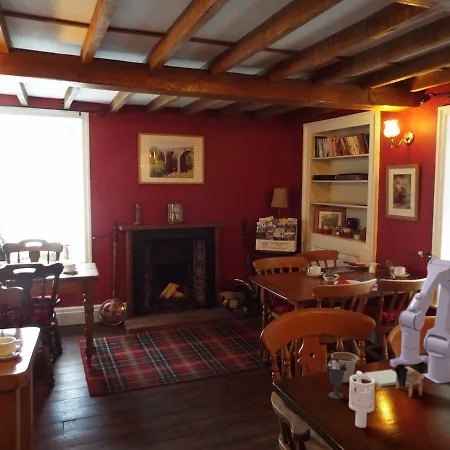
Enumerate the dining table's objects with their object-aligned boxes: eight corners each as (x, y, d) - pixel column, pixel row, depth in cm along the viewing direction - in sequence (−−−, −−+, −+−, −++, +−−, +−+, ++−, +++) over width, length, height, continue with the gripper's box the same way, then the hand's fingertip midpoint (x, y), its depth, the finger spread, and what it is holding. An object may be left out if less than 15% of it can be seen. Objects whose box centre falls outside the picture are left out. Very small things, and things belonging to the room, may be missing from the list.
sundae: (323, 391, 156) (324, 349, 155) (342, 391, 157) (343, 348, 155) (329, 400, 149) (330, 356, 148) (349, 400, 150) (350, 355, 149)
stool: (407, 385, 161) (408, 366, 161) (423, 395, 154) (424, 375, 153) (394, 387, 160) (395, 368, 159) (410, 397, 152) (410, 377, 152)
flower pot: (354, 375, 171) (355, 352, 170) (359, 385, 161) (360, 361, 161) (329, 373, 172) (329, 351, 171) (332, 384, 162) (333, 360, 162)
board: (391, 372, 174) (391, 369, 173) (409, 382, 164) (409, 380, 164) (363, 375, 170) (363, 373, 170) (380, 386, 160) (380, 383, 160)
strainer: (368, 419, 138) (370, 370, 136) (376, 431, 131) (378, 380, 129) (345, 419, 137) (346, 370, 136) (352, 431, 130) (354, 380, 129)
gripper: (419, 340, 162) (418, 377, 163) (384, 344, 157) (383, 382, 158) (434, 346, 155) (432, 385, 156) (398, 351, 151) (396, 390, 152)
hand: (408, 384), depth 157 cm, fingers closed on stool, 5 cm apart
